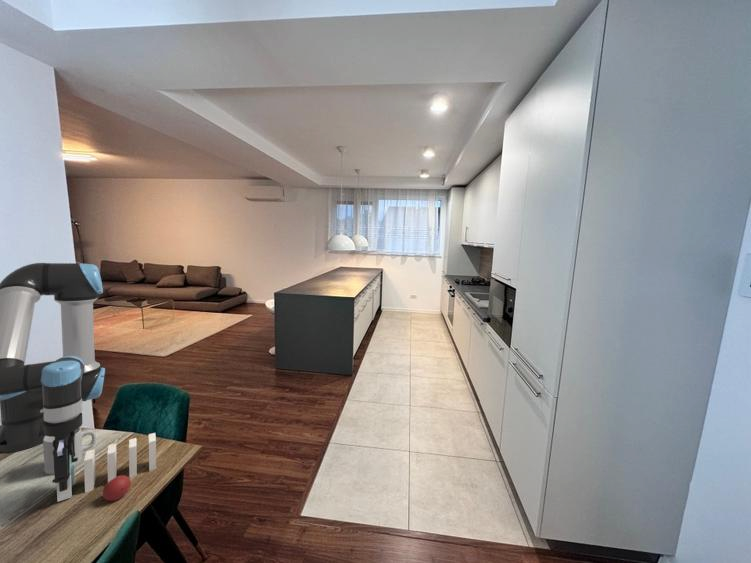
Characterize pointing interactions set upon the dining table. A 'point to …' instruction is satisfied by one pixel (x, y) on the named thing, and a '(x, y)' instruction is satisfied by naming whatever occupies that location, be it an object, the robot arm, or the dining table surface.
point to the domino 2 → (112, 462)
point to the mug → (78, 449)
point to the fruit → (116, 488)
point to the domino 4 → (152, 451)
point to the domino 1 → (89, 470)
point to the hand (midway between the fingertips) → (66, 491)
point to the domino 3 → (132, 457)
